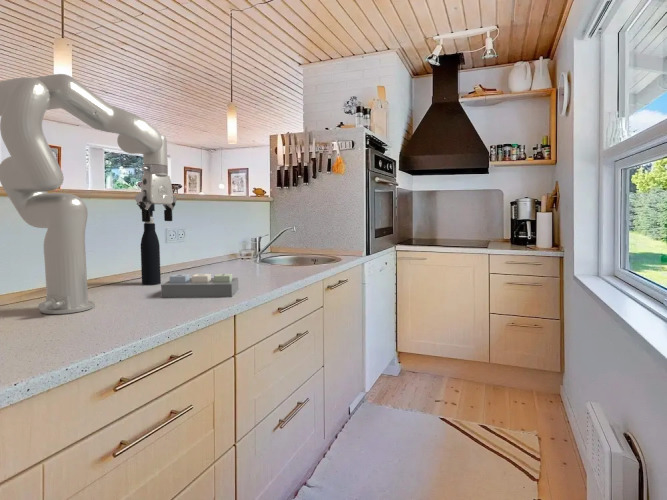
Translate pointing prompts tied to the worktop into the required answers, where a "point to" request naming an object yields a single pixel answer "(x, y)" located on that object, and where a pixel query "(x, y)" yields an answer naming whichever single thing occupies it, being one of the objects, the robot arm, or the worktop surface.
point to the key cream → (201, 278)
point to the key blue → (180, 278)
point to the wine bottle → (150, 253)
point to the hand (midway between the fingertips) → (157, 221)
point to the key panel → (199, 289)
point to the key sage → (222, 278)
